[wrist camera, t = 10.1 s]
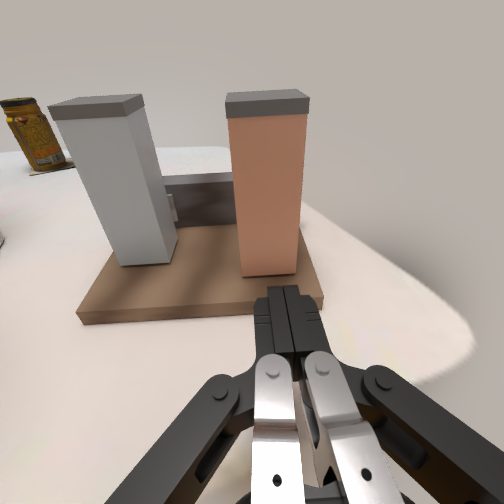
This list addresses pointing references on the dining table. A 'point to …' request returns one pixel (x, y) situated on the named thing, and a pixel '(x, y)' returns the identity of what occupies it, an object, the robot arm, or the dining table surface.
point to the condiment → (34, 135)
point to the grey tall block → (120, 174)
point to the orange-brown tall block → (267, 176)
